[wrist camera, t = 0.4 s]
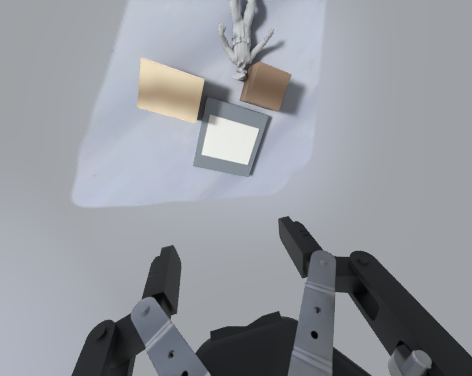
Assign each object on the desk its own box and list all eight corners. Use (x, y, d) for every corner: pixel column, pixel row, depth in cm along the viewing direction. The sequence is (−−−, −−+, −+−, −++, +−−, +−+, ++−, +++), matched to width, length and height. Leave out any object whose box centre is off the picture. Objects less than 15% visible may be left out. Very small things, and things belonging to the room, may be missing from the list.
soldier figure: (278, -35, 23) (274, 75, 27) (262, -8, 27) (261, 82, 31) (217, -48, 21) (222, 72, 25) (211, -18, 26) (215, 80, 29)
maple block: (150, 63, 27) (141, 56, 23) (203, 81, 30) (204, 79, 25) (146, 105, 30) (137, 107, 25) (196, 119, 32) (195, 123, 28)
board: (207, 96, 30) (207, 96, 29) (266, 115, 34) (269, 116, 32) (193, 163, 35) (193, 166, 34) (246, 174, 38) (248, 177, 37)
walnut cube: (248, 67, 30) (259, 61, 25) (275, 77, 31) (291, 74, 26) (239, 100, 32) (248, 101, 27) (265, 108, 33) (278, 111, 28)
